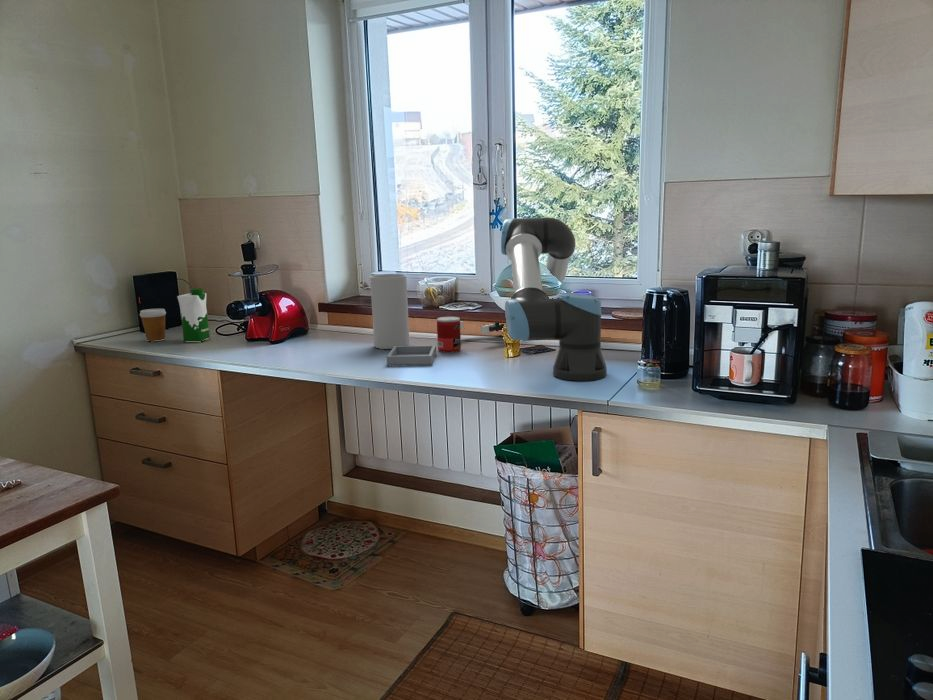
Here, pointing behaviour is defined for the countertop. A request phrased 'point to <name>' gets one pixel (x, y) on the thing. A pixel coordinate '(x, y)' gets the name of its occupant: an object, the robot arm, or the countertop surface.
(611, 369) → the countertop surface
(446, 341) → the canned food
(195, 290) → the milk carton
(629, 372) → the countertop surface
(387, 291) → the cylinder vase
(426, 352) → the box
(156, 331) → the disposable coffee cup
